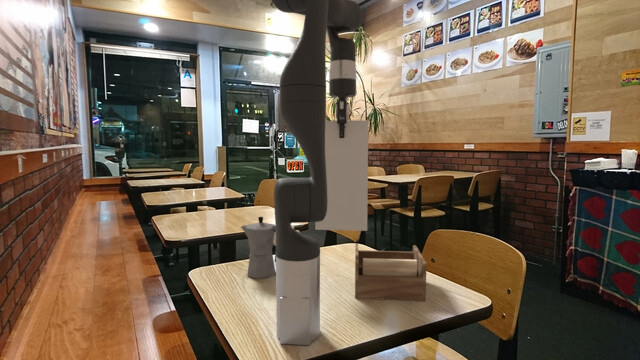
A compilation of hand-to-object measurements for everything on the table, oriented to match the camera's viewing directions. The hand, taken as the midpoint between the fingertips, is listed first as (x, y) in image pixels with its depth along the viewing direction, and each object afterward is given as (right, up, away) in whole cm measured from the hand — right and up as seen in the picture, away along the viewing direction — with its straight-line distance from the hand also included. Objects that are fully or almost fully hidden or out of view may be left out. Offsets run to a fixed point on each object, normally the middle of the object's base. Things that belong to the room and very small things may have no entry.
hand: (342, 140), depth 101 cm
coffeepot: (-23, -41, +10) cm, 48 cm away
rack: (+13, -41, -1) cm, 43 cm away
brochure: (0, -25, -1) cm, 25 cm away
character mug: (-19, -40, +19) cm, 48 cm away
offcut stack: (+12, -42, -5) cm, 44 cm away
